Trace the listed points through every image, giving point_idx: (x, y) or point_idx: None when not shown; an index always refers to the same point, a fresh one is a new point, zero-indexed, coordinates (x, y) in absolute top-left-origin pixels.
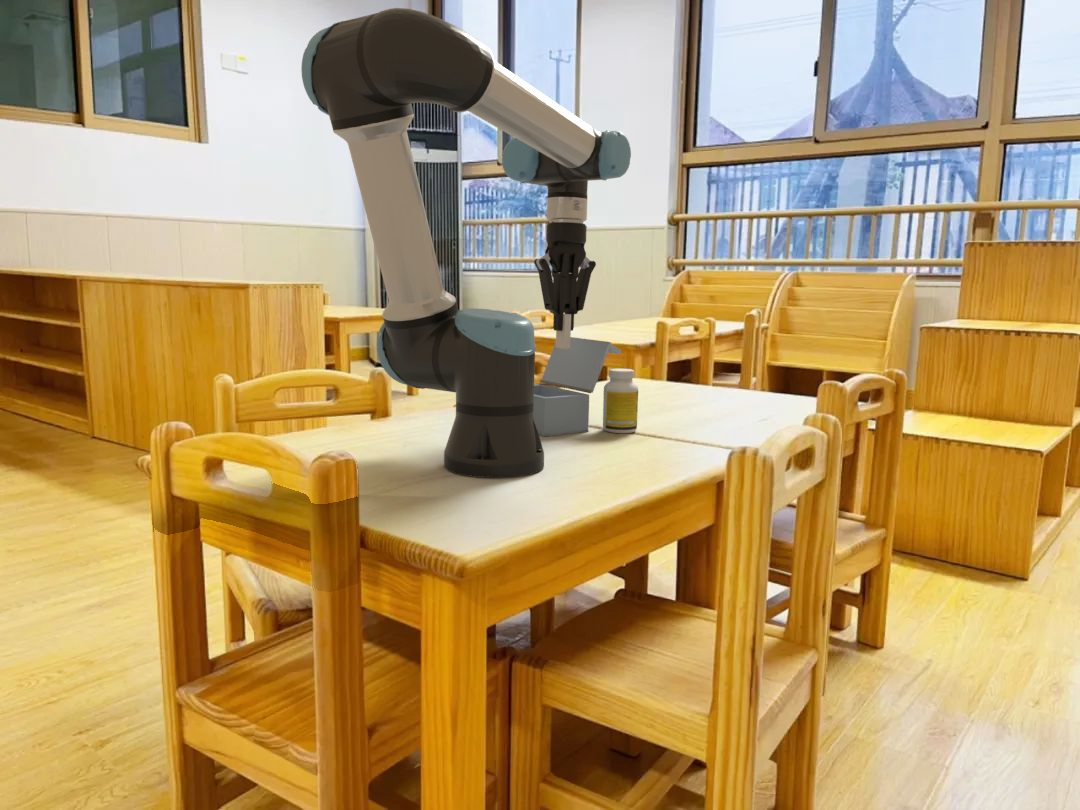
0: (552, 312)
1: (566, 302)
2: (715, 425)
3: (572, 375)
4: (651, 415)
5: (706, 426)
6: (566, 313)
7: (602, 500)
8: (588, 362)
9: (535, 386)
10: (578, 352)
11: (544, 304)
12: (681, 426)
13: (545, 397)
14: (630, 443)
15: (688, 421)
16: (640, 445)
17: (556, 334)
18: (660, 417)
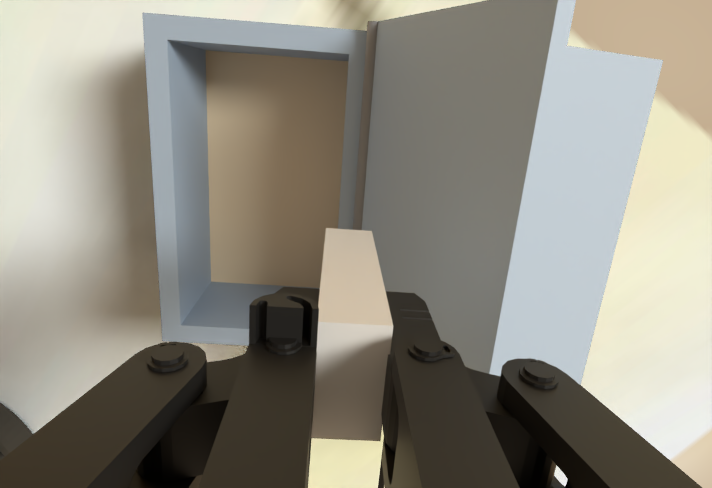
0: (264, 321)
1: (400, 452)
2: (694, 397)
3: (381, 250)
4: (707, 201)
5: (664, 395)
6: (386, 381)
7: None
8: None
9: (323, 52)
10: (446, 270)
11: (111, 380)
12: (613, 365)
13: (174, 329)
14: (339, 441)
15: (696, 326)
16: (343, 464)
17: (323, 257)
18: (695, 241)
